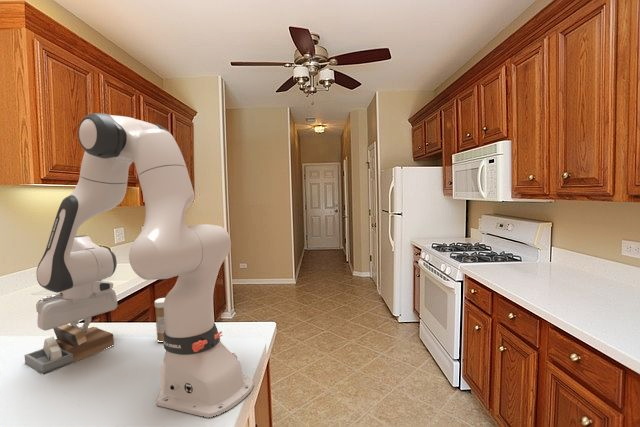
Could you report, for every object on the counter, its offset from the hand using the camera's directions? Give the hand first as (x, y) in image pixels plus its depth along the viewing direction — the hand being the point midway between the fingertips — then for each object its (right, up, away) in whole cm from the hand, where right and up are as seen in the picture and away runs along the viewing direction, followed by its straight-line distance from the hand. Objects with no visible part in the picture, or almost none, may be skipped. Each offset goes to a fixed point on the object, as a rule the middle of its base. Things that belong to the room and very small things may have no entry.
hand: (81, 333), depth 101 cm
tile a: (-1, -3, -7) cm, 8 cm away
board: (0, -5, +1) cm, 5 cm away
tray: (-4, -6, -7) cm, 10 cm away
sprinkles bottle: (+23, -4, +5) cm, 24 cm away
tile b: (-5, -2, -4) cm, 7 cm away
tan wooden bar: (-1, -1, -2) cm, 3 cm away
